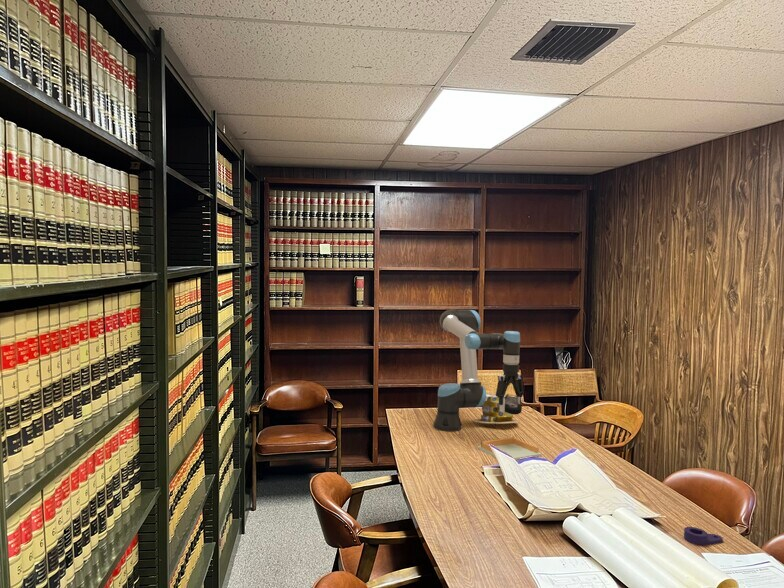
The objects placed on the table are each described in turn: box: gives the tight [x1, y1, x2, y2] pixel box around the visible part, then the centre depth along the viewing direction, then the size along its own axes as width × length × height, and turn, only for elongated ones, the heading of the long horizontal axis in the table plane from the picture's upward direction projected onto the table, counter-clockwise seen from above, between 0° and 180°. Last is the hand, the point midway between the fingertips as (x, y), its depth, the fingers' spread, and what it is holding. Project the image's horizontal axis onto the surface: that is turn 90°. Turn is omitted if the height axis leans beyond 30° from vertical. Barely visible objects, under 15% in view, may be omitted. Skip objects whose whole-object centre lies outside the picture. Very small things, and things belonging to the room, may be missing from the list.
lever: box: [683, 526, 723, 547], centre depth 164 cm, size 12×6×3 cm, turn 98°
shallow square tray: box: [477, 437, 542, 459], centre depth 244 cm, size 20×21×4 cm
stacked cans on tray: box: [472, 393, 519, 426], centre depth 295 cm, size 25×25×17 cm
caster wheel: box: [504, 393, 523, 415], centre depth 250 cm, size 7×11×10 cm
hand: (509, 410), depth 251 cm, fingers closed on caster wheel, 9 cm apart
